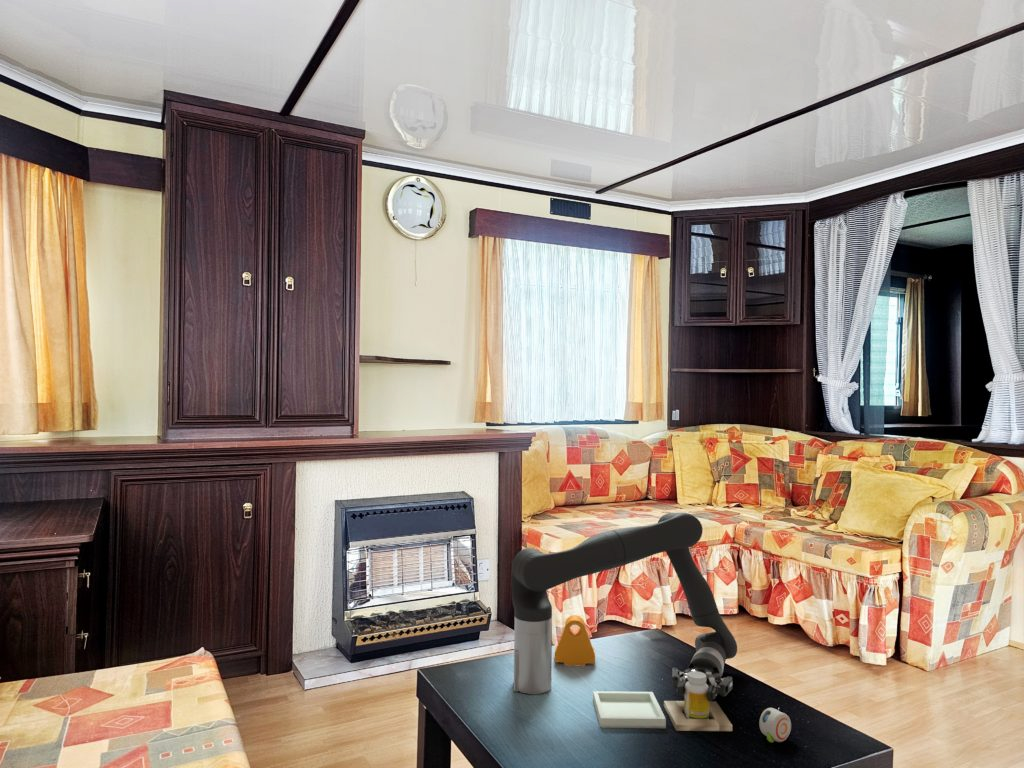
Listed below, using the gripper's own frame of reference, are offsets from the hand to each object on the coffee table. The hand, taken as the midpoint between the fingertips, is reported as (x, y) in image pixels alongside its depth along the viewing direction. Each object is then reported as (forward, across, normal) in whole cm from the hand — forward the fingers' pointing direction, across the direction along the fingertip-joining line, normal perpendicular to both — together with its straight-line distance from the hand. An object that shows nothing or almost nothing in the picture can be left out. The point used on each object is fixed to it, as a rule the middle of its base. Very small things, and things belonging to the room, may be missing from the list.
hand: (695, 694), depth 152 cm
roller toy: (0, +16, +6) cm, 18 cm away
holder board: (-3, 0, +6) cm, 7 cm away
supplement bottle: (-3, 0, +6) cm, 7 cm away
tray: (+2, -14, +6) cm, 16 cm away
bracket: (-24, -36, +6) cm, 43 cm away
